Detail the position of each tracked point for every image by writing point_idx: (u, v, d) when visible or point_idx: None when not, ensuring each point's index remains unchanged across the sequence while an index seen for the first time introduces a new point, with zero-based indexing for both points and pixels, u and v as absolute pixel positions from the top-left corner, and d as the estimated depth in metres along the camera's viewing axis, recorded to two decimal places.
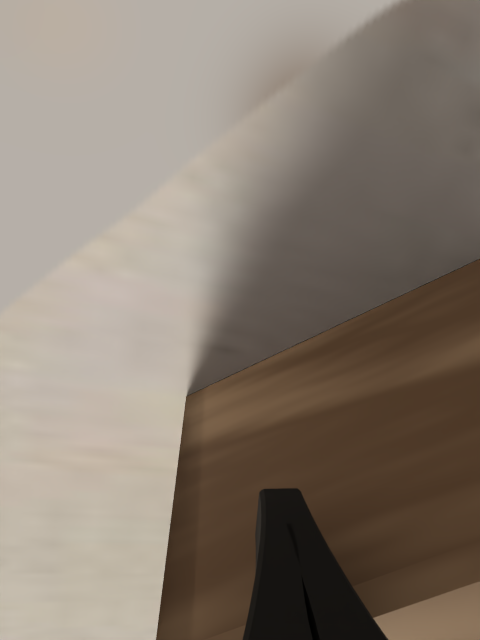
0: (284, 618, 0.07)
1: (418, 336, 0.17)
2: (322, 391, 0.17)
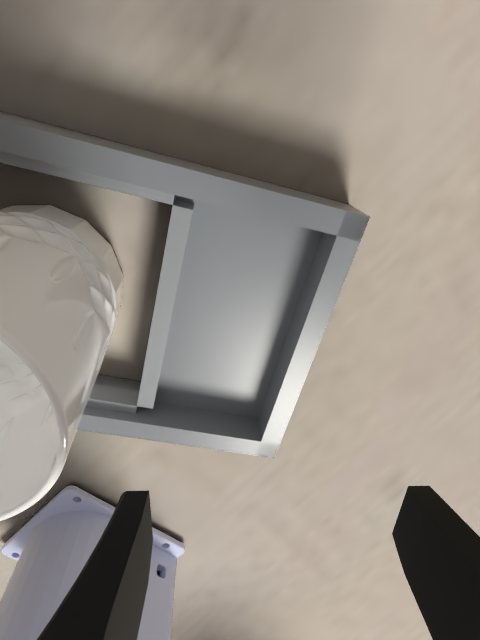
0: (81, 626, 0.07)
1: None
2: None
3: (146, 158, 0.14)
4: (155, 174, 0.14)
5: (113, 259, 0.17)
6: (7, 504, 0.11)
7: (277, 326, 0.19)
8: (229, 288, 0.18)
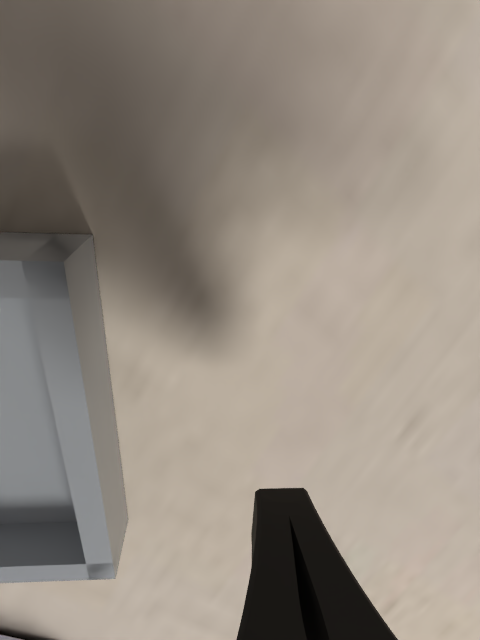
0: (278, 618, 0.07)
1: None
2: None
3: None
4: None
5: None
6: None
7: None
8: None
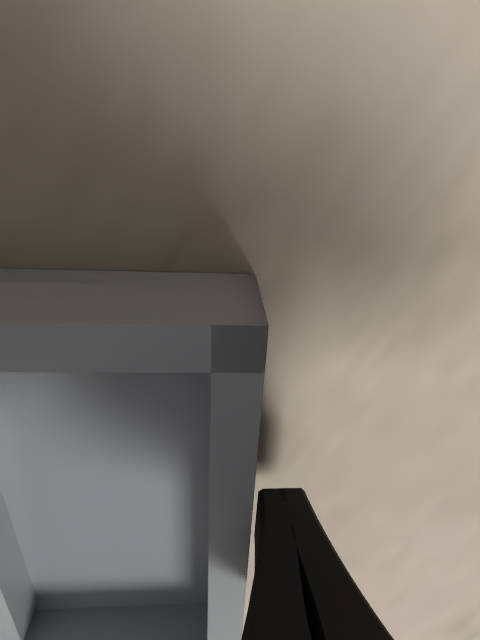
0: (283, 618, 0.07)
1: None
2: None
3: None
4: None
5: None
6: None
7: (188, 489, 0.11)
8: (81, 454, 0.10)
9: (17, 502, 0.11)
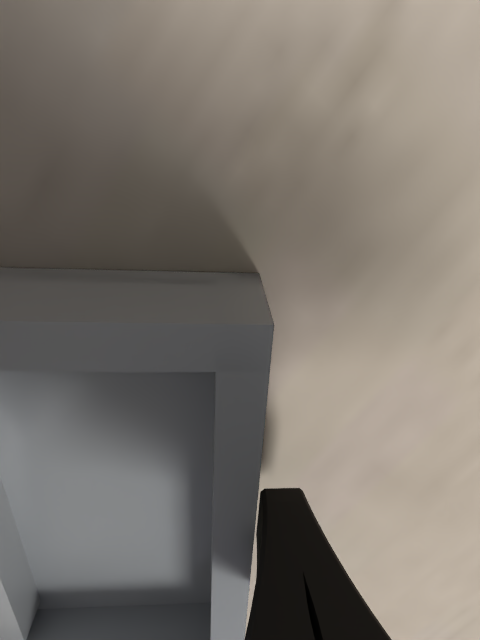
0: (286, 618, 0.07)
1: None
2: None
3: None
4: None
5: None
6: None
7: (191, 489, 0.11)
8: (85, 453, 0.10)
9: (20, 501, 0.11)
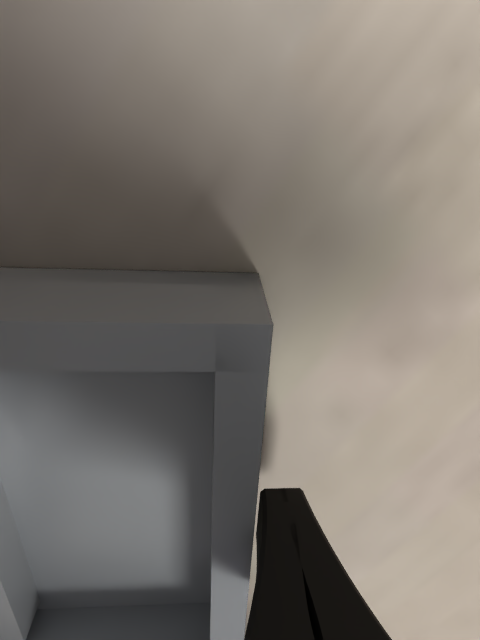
0: (286, 618, 0.07)
1: None
2: None
3: None
4: None
5: None
6: None
7: (191, 489, 0.11)
8: (84, 453, 0.10)
9: (20, 501, 0.11)
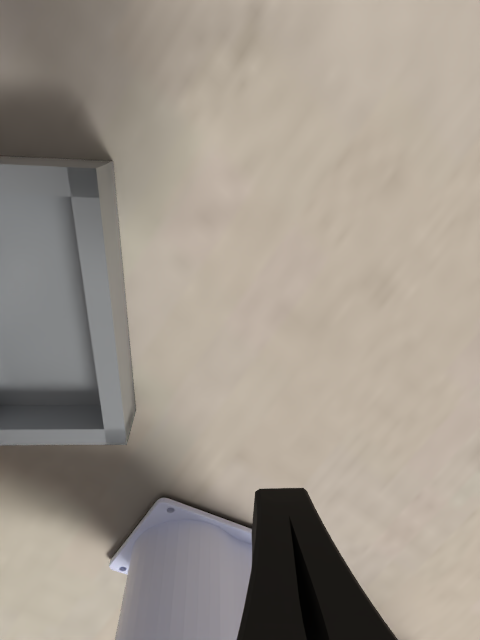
0: (278, 618, 0.07)
1: None
2: None
3: None
4: None
5: None
6: None
7: (87, 306, 0.18)
8: (18, 276, 0.17)
9: None
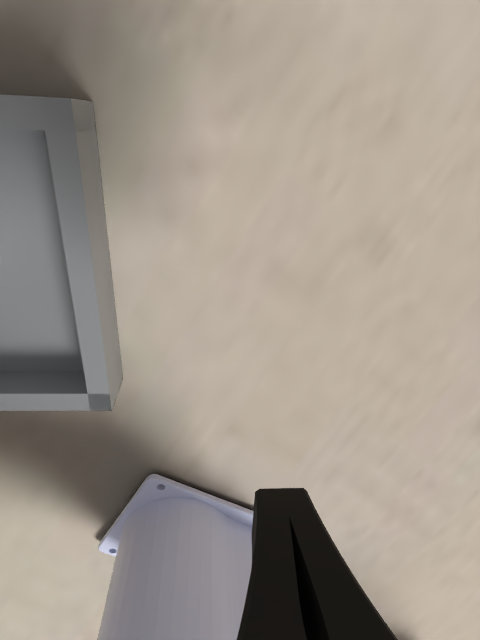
0: (279, 618, 0.07)
1: None
2: None
3: None
4: None
5: None
6: None
7: None
8: None
9: None
